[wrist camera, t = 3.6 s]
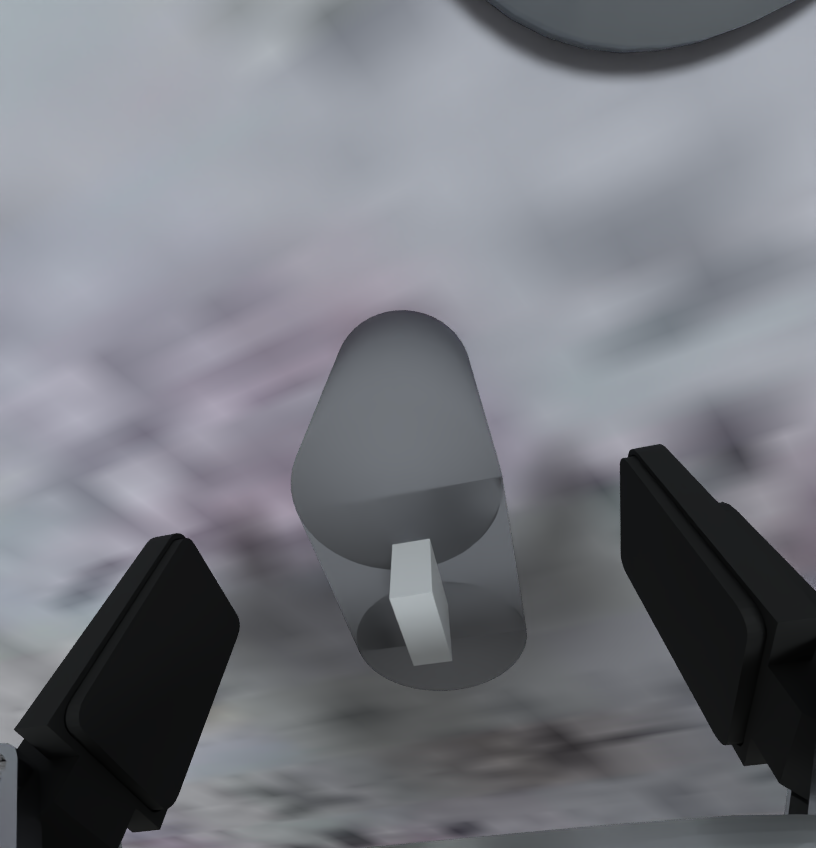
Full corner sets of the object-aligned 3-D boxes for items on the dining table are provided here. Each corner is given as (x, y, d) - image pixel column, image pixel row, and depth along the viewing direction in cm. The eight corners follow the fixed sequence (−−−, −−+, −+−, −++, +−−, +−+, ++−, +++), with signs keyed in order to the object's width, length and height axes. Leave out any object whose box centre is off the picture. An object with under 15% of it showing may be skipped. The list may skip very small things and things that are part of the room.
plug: (317, 327, 11) (231, 469, 6) (457, 295, 11) (499, 417, 6) (390, 545, 15) (377, 756, 10) (498, 527, 15) (547, 737, 9)
